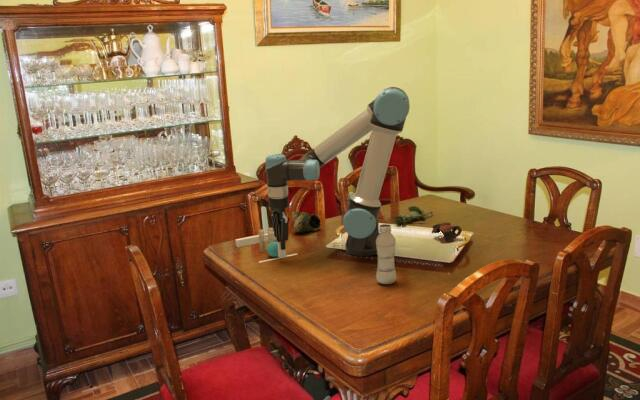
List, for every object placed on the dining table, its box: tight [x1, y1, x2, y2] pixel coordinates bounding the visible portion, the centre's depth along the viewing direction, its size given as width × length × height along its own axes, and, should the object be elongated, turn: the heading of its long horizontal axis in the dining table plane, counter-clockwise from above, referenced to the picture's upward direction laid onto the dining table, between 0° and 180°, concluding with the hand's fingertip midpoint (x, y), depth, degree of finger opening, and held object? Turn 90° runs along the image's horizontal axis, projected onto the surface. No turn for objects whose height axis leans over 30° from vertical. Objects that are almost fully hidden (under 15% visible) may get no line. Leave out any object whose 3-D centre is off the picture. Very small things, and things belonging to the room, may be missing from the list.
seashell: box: [291, 211, 321, 234], centre depth 246 cm, size 11×11×10 cm
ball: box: [266, 241, 278, 258], centre depth 218 cm, size 6×6×6 cm
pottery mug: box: [431, 222, 463, 244], centre depth 227 cm, size 12×10×8 cm
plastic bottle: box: [375, 223, 397, 285], centre depth 185 cm, size 6×7×20 cm
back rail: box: [234, 231, 277, 248], centre depth 236 cm, size 18×2×3 cm, turn 117°
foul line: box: [258, 252, 298, 264], centre depth 216 cm, size 16×1×1 cm, turn 117°
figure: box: [394, 205, 434, 226], centre depth 255 cm, size 16×7×25 cm
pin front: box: [267, 230, 275, 245], centre depth 221 cm, size 2×2×9 cm
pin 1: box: [258, 228, 266, 253], centre depth 224 cm, size 2×2×9 cm
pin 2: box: [267, 227, 275, 242], centre depth 226 cm, size 2×2×9 cm
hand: (282, 256), depth 212 cm, fingers closed
